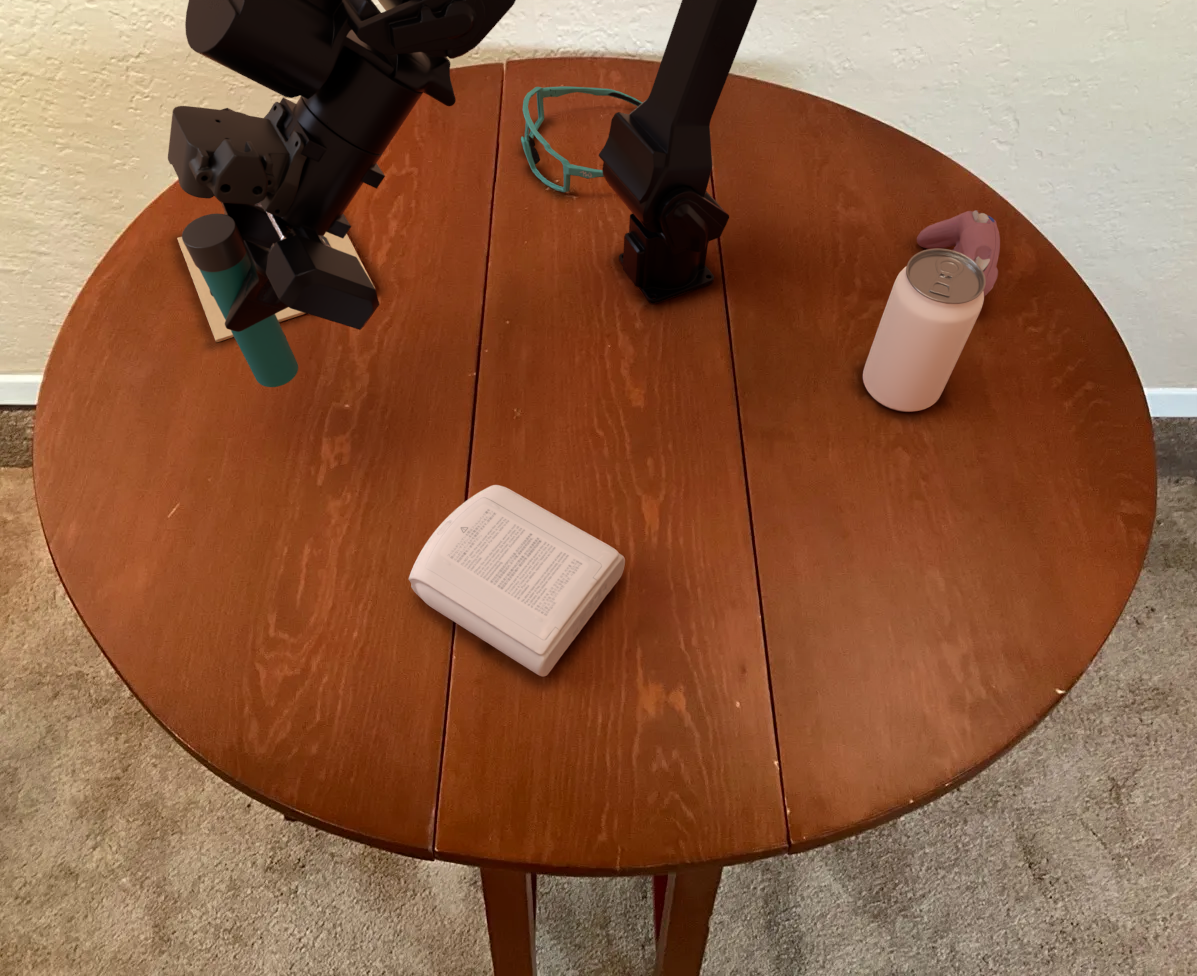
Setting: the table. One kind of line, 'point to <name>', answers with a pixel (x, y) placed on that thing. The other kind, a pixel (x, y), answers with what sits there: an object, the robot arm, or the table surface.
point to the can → (924, 329)
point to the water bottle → (224, 273)
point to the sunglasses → (532, 152)
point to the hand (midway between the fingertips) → (223, 312)
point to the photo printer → (515, 575)
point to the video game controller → (968, 240)
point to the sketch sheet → (214, 311)
